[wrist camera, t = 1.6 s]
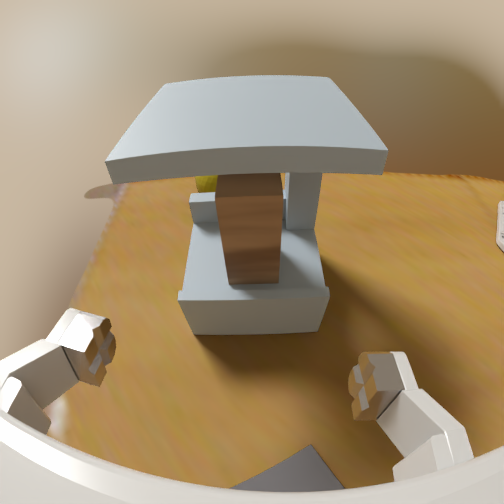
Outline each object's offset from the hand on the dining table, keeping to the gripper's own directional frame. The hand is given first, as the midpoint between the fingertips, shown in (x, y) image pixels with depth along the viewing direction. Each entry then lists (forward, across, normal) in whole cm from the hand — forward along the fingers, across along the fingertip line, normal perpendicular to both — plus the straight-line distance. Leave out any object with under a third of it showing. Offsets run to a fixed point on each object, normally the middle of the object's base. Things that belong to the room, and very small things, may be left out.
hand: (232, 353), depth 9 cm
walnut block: (+18, -1, +8) cm, 20 cm away
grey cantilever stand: (+20, -1, +14) cm, 24 cm away
